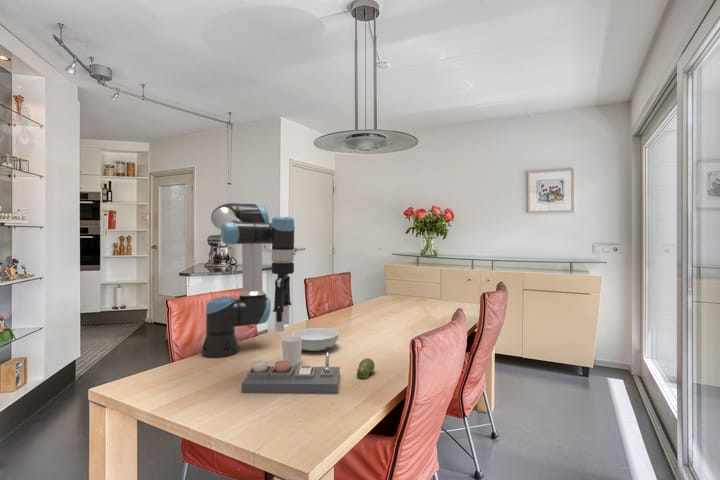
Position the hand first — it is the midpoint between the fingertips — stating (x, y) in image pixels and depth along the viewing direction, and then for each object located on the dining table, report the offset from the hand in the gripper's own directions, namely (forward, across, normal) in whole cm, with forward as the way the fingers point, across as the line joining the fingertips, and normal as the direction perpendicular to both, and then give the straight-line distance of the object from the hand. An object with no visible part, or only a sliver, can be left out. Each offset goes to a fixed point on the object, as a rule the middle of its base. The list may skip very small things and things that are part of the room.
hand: (282, 327), depth 132 cm
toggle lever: (+14, 0, -16) cm, 21 cm away
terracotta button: (+15, 0, 0) cm, 15 cm away
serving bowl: (+20, +40, -7) cm, 45 cm away
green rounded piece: (+20, +9, -29) cm, 36 cm away
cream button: (+15, 0, +8) cm, 17 cm away
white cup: (+20, +20, 0) cm, 28 cm away
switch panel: (+19, 0, -4) cm, 20 cm away
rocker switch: (+15, 0, -8) cm, 17 cm away
